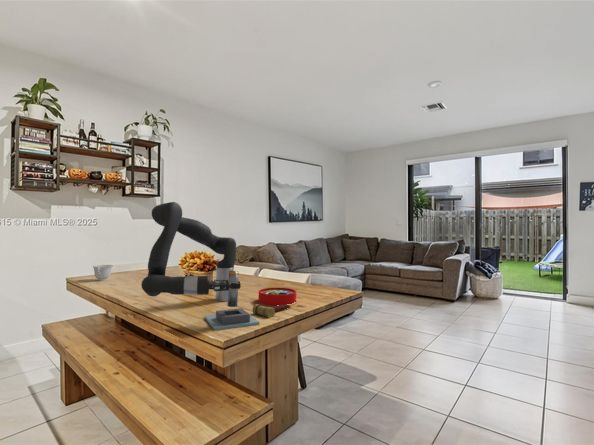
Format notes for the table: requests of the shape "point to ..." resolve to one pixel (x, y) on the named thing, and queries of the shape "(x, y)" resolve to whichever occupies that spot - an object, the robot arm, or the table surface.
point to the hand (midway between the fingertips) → (239, 284)
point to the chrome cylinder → (232, 292)
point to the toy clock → (277, 296)
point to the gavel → (268, 309)
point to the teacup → (102, 271)
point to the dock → (219, 326)
